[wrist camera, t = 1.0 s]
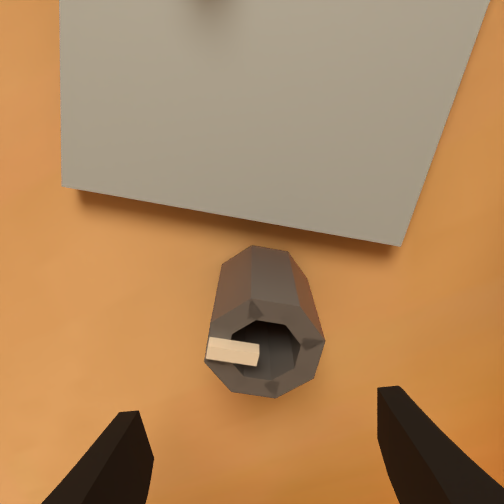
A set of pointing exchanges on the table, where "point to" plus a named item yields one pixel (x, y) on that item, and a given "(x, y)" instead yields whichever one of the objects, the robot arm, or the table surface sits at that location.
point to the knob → (263, 325)
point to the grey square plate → (263, 105)
